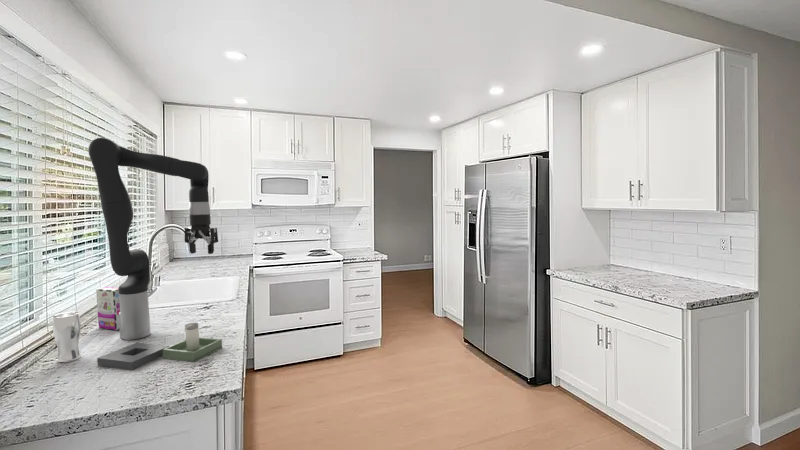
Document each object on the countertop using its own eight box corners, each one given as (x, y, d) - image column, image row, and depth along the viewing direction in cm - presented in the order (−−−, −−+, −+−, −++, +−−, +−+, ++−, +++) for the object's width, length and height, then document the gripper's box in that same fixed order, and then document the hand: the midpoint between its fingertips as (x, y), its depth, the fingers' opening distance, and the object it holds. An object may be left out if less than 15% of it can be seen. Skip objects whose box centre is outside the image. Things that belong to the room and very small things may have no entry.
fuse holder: (97, 365, 128) (97, 358, 128) (137, 349, 142) (136, 342, 141) (132, 370, 124) (131, 362, 124) (169, 353, 138) (169, 345, 138)
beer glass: (52, 364, 130) (49, 318, 128) (59, 357, 136) (55, 313, 135) (80, 360, 133) (76, 315, 132) (84, 353, 139) (81, 310, 138)
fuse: (183, 352, 136) (182, 326, 135) (192, 347, 140) (191, 322, 139) (193, 353, 135) (191, 326, 134) (202, 348, 139) (200, 323, 138)
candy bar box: (128, 327, 167) (125, 288, 166) (116, 331, 162) (113, 290, 161) (110, 324, 171) (108, 286, 170) (98, 328, 166) (95, 288, 165)
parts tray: (163, 358, 133) (162, 349, 133) (192, 344, 145) (192, 336, 145) (194, 361, 130) (194, 352, 130) (222, 347, 142) (221, 339, 142)
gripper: (178, 213, 161) (180, 254, 162) (207, 213, 157) (209, 255, 158) (192, 213, 168) (194, 251, 170) (221, 212, 165) (223, 252, 166)
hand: (202, 253), depth 164 cm, fingers open, 8 cm apart
